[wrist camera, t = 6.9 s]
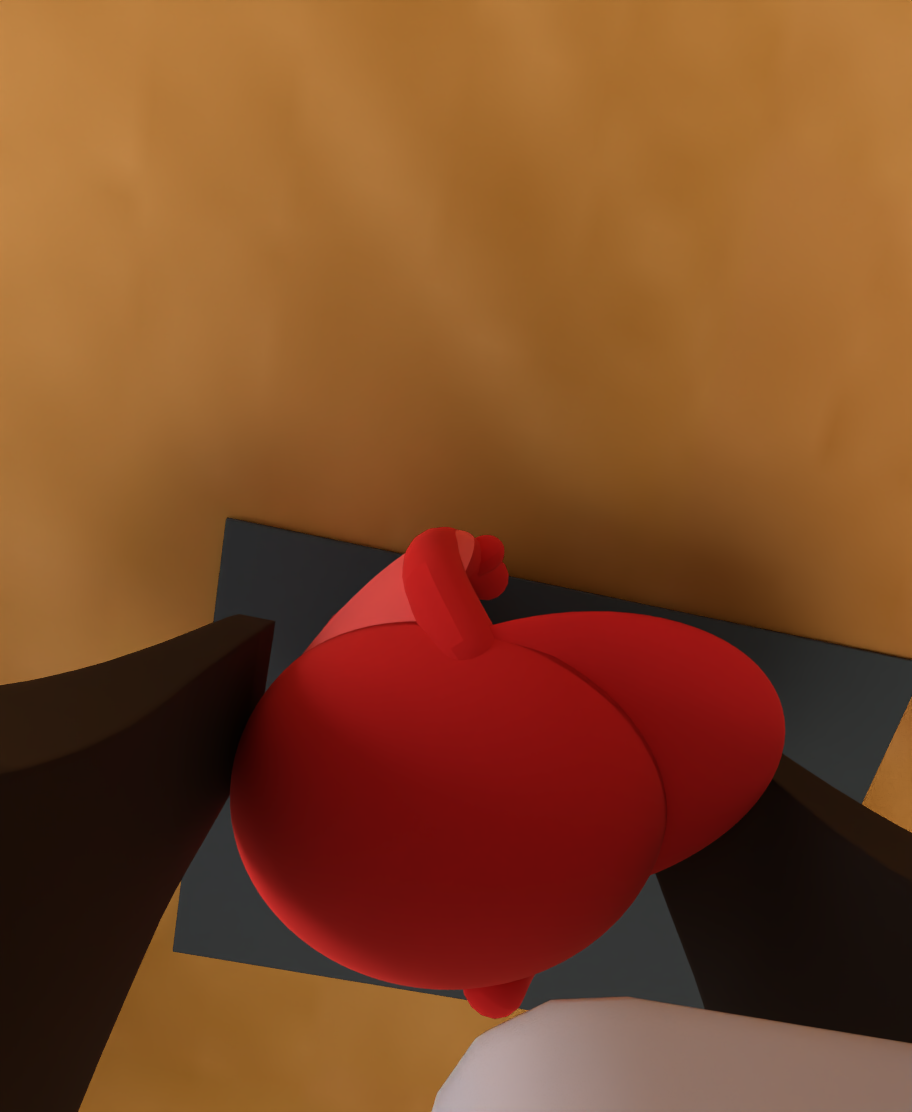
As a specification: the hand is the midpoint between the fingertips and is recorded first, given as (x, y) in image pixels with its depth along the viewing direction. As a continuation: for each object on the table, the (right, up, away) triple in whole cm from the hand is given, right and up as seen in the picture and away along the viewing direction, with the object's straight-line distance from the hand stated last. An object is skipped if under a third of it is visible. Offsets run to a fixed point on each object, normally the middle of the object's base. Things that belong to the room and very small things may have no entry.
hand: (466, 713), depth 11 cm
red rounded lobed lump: (0, +1, +2) cm, 2 cm away
